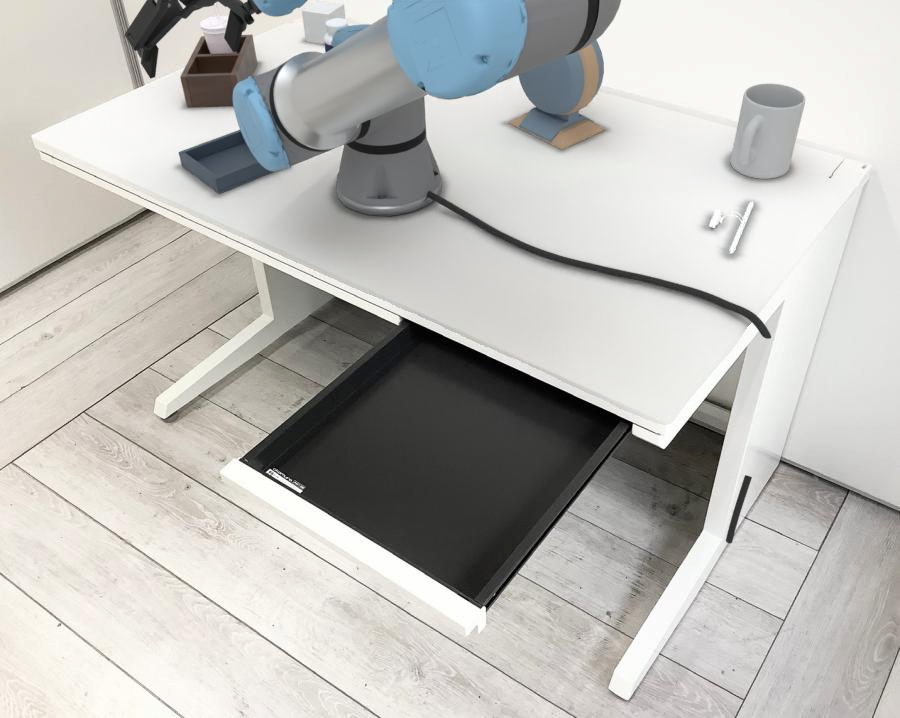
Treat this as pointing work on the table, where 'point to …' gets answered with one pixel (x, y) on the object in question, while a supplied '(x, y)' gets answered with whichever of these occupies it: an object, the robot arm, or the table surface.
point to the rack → (217, 73)
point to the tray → (223, 162)
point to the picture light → (717, 219)
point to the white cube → (320, 19)
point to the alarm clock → (562, 97)
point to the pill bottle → (333, 31)
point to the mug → (767, 130)
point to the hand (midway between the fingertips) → (190, 57)
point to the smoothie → (216, 33)
